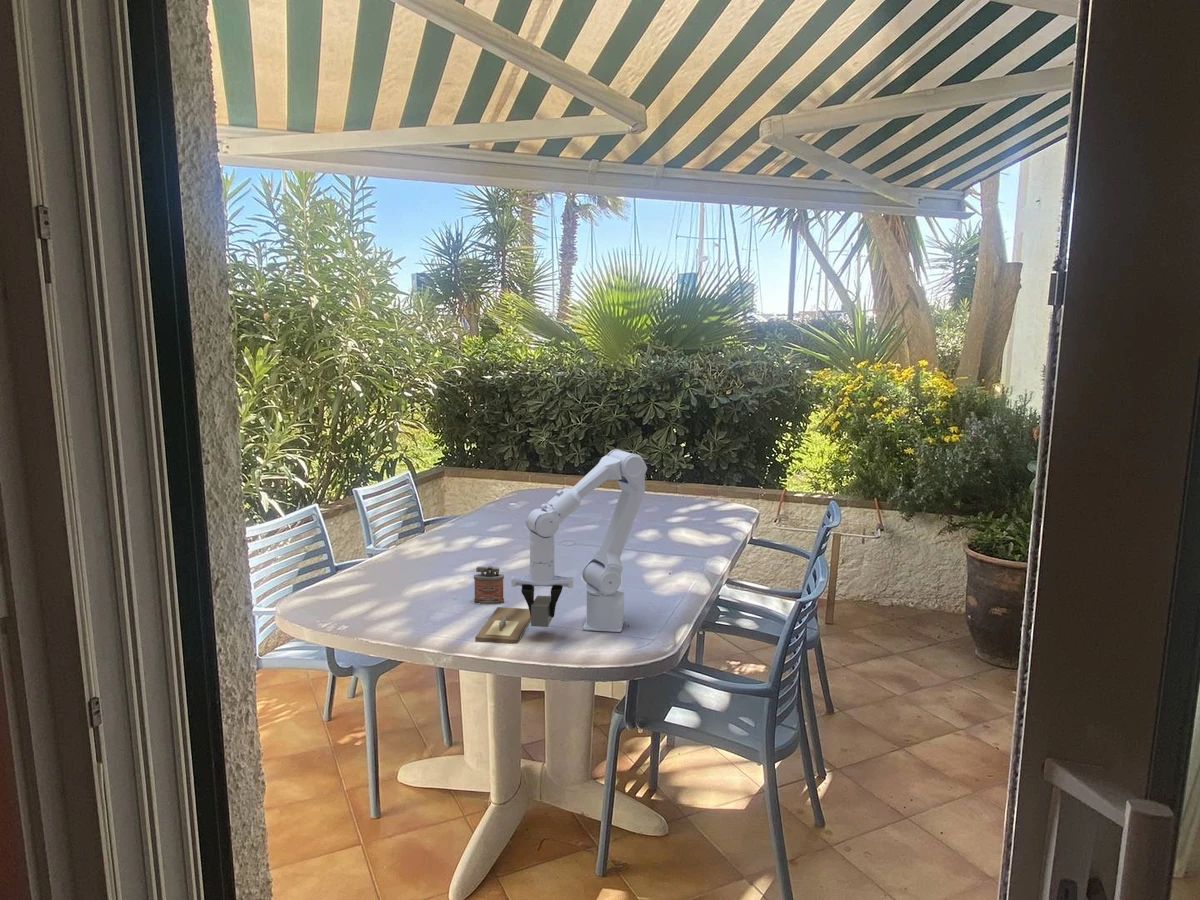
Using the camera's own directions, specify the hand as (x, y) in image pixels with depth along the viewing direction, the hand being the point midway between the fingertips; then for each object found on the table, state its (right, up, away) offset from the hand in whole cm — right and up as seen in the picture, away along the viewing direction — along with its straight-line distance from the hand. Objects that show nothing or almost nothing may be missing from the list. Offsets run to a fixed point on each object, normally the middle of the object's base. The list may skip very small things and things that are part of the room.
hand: (542, 615), depth 173 cm
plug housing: (0, -1, 0) cm, 1 cm away
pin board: (-9, -4, +7) cm, 12 cm away
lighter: (-16, -2, +24) cm, 29 cm away
